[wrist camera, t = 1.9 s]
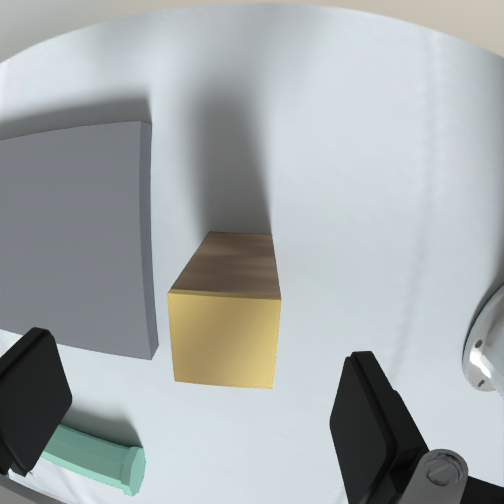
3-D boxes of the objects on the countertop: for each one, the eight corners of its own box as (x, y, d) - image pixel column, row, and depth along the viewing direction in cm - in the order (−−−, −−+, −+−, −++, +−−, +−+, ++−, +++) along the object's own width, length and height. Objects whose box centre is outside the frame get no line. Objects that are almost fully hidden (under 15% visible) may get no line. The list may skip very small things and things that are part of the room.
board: (151, 123, 19) (141, 120, 17) (158, 345, 23) (151, 360, 21) (-24, 149, 19) (-39, 150, 17) (-4, 315, 23) (-16, 324, 22)
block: (271, 234, 21) (281, 299, 11) (268, 292, 22) (272, 388, 12) (209, 231, 21) (167, 293, 11) (209, 289, 22) (174, 381, 12)
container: (-40, 422, 22) (130, 506, 22) (-46, 381, 23) (128, 463, 22) (-14, 411, 28) (146, 478, 28) (-17, 373, 29) (146, 437, 28)
